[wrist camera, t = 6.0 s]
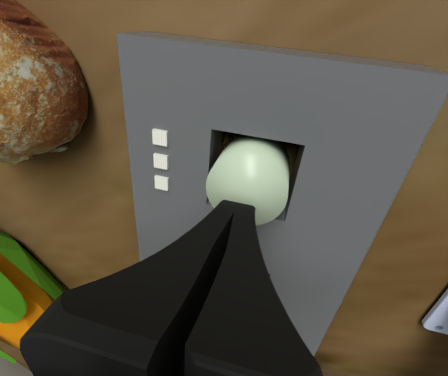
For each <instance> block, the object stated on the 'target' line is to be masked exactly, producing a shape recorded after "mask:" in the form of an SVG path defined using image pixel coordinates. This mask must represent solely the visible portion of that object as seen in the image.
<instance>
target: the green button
mask: <svg viewBox="0 0 448 376" xmlns="http://www.w3.org/2000/svg"><path fill="white" fill-rule="evenodd" d="M289 175H290V160H289V156H288V154H287V151H286V150H285V148H284V147H283V146H282V144H281V143H280V142H279V141H277V140H271V139H265V138H260V137H254V136H248V135H242V134H240V135H238V136H236V137H234V138H233V139H232V140H230V141H229V142H228V143H227V145H226V146H225V148H224V149H223V151H222V152H221V154H220V156H219V157H218V159H217V161H216V162H215V164H214V165H213V167H212V169H211V170H210V172H209V174H208V177H207V180H206V193H207V197H208V199H209V201H210V203H211V205H212V207H213V208H215V207H216V206H217V205H218V204H219V203H220V202H221V201H222V200H229V201H233V202H238V203H243V204H248V205H252V206H254V207H255V208H256V210H255V223H256V225H262V224H265V223H268V222H270V221H272V220H274V219H275V218H276V217H278V216H279V215H280V214H281V212H282V211H283V210H284V208H285V206H286V203H287V199H288V189H289Z"/></svg>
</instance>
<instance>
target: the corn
mask: <svg viewBox="0 0 448 376" xmlns="http://www.w3.org/2000/svg"><path fill="white" fill-rule="evenodd" d="M64 291H66V290H65V289H64V288H63V287H62V285H61V284H60V283H59V282H58V281H57V280H56V279H55V278H54V277H53V276H52V275H51V274H50V273H49V272H48V271H47V270H46V269H45V268H44V267H43V266H42V265H41V264H40V263H39V262H38V261H36V260H35V259H34V258H33V257H32V256H31V255H30V254H29V253H28V252H27V251H26V250H25V249H24V248H23V247H21V246H20V245H19V244H18V243H17V242H16V241H15V240H14V239H13V238H12V237H10V236H9V235H8V234H5V233H2V232H0V341H2V342H4V343H7V344H9V345H11V346H13V347H15V348H18V349H20V339H21V337H22V336H23V335H24V334H25V333H26V332H27V331H28V329H29V328H30V327H31V326H32V325H33V324H34V323H35V321H36V320H37V319H38V318H39V317H40V316H41V315H42V314H43V312H44V311H45V310H46V309H47V308H48V307H49V306H50V304H51V303H52V302H53V301H55V300H56V299H57V298H58V297H59V296H60V295H61V294H62V293H63V292H64ZM0 356H1V357H2V358H4V359H6V360H8V361H10V362H11V363H13V364H15V363H16V360H15V359H13V358H12V357H10V356H9V355H7V354H5V353H4V352H2V351H1V350H0Z"/></svg>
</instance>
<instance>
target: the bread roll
mask: <svg viewBox="0 0 448 376" xmlns="http://www.w3.org/2000/svg"><path fill="white" fill-rule="evenodd" d="M87 114H88V93H87V87H86V84H85V81H84V78H83V75H82V73H81V71H80V68H79V66H78V63H77V61H76V59H75V58H74V56H73V54H72V52H71V51H70V49H69V47H68V46H67V45H66V44H65V43H64V42H63V41H62V40H61V39H60V38H58V36H57V35H56V34H55V33H54V32H53V31H51V30H50V29H48V27H47V26H46V25H45V24H44V23H43V22H42V21H41V20H40V19H38V18H37V17H36V16H35V15H33V14H32V13H31V12H30V11H29V10H27V9H26V8H25V7H24V6H22V5H21V4H20V3H18V2H17V1H15V0H0V162H4V163H13V164H17V163H18V162H20V161H23V160H28V159H29V158H32V159H34V158H35V157H36V156H38V155H40V154H42V153H46V152H61V151H65V150H66V149H67V148H68V146H67V143H68V142H70V141H71V140H73V139H74V137H75V136H76V135H78V134H79V133H80V131H81V128H82V126H83V123H84V121H85V120H86V118H87Z"/></svg>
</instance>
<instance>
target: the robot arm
mask: <svg viewBox="0 0 448 376" xmlns="http://www.w3.org/2000/svg"><path fill="white" fill-rule="evenodd" d="M255 210H256V208H255V207H254V206H252V205H248V204H243V203H238V202H233V201H229V200H222V201H221V202H220V203H219V204H218V205H217V206H216V207H215V208H214V209H213V210H212V211H211V212H210V213H209V214H208V215H207V216H206V217H204V218H203V219H202V220H201V221H200V222H199V223H198V224H196V225H195V226H194V227H193V228H192V229H190V230H189V231H188V232H186V233H185V234H184V235H182V236H181V237H180V238H178V239H177V240H175V241H174V242H173V243H171V244H170V245H168V246H166V247H165V248H163V249H162V250H160V251H158V252H157V253H155V254H153V255H151V256H149V257H148V258H146V259H144V260H142V261H140V262H138V263H136V264H134V265H132V266H130V267H128V268H126V269H123V270H121V271H119V272H117V273H114V274H112V275H109V276H107V277H104V278H102V279H99V280H96V281H93V282H91V283H88V284H85V285H82V286H79V287H76V288H73V289H70V290H67V291H64V292H63V293H62V294H61V295H60V296H59V297H58V298H57V299H56V300H55V301H53V302H52V303H51V304H50V306H49V307H48V308H47V309H46V310H45V311H44V312H43V314H42V315H41V316H40V317H39V318H38V319H37V320H36V321H35V323H34V324H33V325H32V326H31V327H30V328H29V329H28V331H27V332H26V333H25V334H24V335H23V336H22V337H21V339H20V351H21V354H22V356H23V358H24V360H25V361H26V363H27V365H28V367H29V368H30V370H31V372H32V373H33V375H34V376H323V375H322V371H321V368H320V365H319V364H318V362H317V361H316V359H315V358H314V356H313V355H312V354H311V352H310V351H309V349H308V347H307V346H306V344H305V343H304V341H303V340H302V338H301V336H300V335H299V333H298V331H297V330H296V328H295V326H294V325H293V323H292V321H291V320H290V318H289V316H288V314H287V312H286V310H285V308H284V306H283V304H282V302H281V300H280V298H279V296H278V294H277V292H276V290H275V288H274V285H273V283H272V281H271V278H270V276H269V273H268V271H267V268H266V265H265V262H264V259H263V255H262V252H261V248H260V245H259V240H258V235H257V230H256V223H255ZM422 324H423V326H424V328H426V329H428V330H432V331H436V332H439V333H443V334H447V335H448V289H447V290H446V291H445V292H444V294H443V295H442V296H441V297H440V299H439V300H438V301H437V302H436V304H435V305H434V306H433V307H432V309H431V310H430V311H429V312H428V314H427V315H426V316H425V317H424V319H423V320H422Z"/></svg>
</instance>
